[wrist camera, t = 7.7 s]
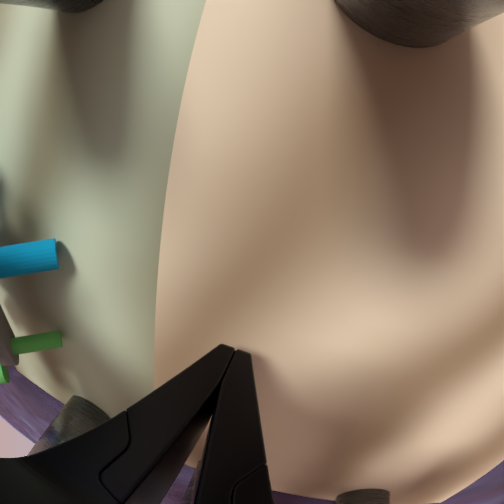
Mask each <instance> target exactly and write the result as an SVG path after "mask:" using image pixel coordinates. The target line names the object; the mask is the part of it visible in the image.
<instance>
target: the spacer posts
mask: <svg viewBox="0 0 504 504" xmlns="http://www.w3.org/2000/svg"><path fill="white" fill-rule="evenodd" d="M102 1H103V0H0V4H11V5H21V6H29V7H36V8H43V9H49V10H55V11H61V12H66V13H73V14H74V13H80V12H84V11H86V10H89V9H91V8H93V7H95V6H96V5H98V4H99V3H101V2H102ZM334 1H335V2H336V4H337V5H338V6H339V8H340V9H341V10H342V11H343V12H344V14H345V15H346V16H347V17H348V18H350V19H351V20H352V21H353V22H354V23H355V24H357V25H358V26H359V27H360V28H362V29H364V30H365V31H367V32H368V33H370V34H372V35H374V36H375V37H377V38H380V39H382V40H384V41H387V42H390V43H393V44H396V45H400V46H405V47H412V48H427V47H433V46H437V45H440V44H442V43H444V42H446V41H448V40H450V39H452V38H454V37H456V36H458V35H460V34H461V33H463V32H465V31H467V30H469V29H471V28H473V27H475V26H477V25H479V24H481V23H483V22H485V21H487V20H489V19H491V18H493V17H496V16H498V15H500V14H502V13H504V0H334ZM109 419H111V418H110V417H109V416H108V415H107V414H106V413H105V412H104V411H103V410H102V409H100V408H99V407H98V406H96V405H95V404H93V403H92V402H90V401H89V400H87V399H85V398H83V397H80V396H76V395H73V396H72V397H71V398H70V399H69V400H68V402H67V403H66V404H65V406H64V407H63V408H62V409H61V411H60V412H59V413H58V415H57V416H56V417H55V419H54V420H53V421H52V423H51V424H50V425H49V427H48V428H47V429H46V431H45V432H44V433H43V435H42V436H41V437H40V439H39V440H38V441H37V443H36V444H35V445H34V447H33V448H32V450H31V451H30V452H29V454H28V455H27V456H29V455H32V454H35V453H38V452H41V451H43V450H46V449H48V448H51V447H53V446H56V445H58V444H60V443H63V442H65V441H68V440H70V439H72V438H75V437H77V436H79V435H81V434H83V433H85V432H87V431H89V430H92V429H94V428H96V427H97V426H99V425H101V424H103V423H104V422H106V421H108V420H109ZM200 461H201V460H199V461H198V463H197V466H196V468H195V471H194V473H193V475H192V478H191V480H190V483H189V485H188V488H187V490H186V492H185V495H184V497H183V500H182V502H181V504H190V503H191V498H192V494H193V490H194V486H195V482H196V478H197V474H198V470H199V465H200ZM335 504H390V492H389V491H387V490H384V489H374V488H370V489H358V490H352V491H348V492H344V493H342V494H339V495H338V496H337V497H336V498H335Z"/></svg>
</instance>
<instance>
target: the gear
mask: <svg viewBox="0 0 504 504" xmlns="http://www.w3.org/2000/svg"><path fill="white" fill-rule="evenodd" d="M57 269H59V261H58V252H57V245H56V240H55V238H53V239H46V240H40V241H33V242H27V243H20V244H14V245H8V246H2V247H0V279H1V278H7V277H13V276H20V275H26V274H32V273H38V272H45V271H51V270H57ZM61 347H63V343H62V338H61V334H60V331H59V330H58V331H52V332H46V333H40V334H34V335H27V336H21V337H15V335H14V333H13V331H12V329H11V327H10V325H9V322H8V320H7V318H6V316H5V314H4V311H3V309H2V307H1V305H0V384H4V383H9V372H8V368H7V367H9V366H16V365H18V364H19V354H25V353H31V352H37V351H43V350H49V349H55V348H61Z"/></svg>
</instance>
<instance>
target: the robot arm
mask: <svg viewBox="0 0 504 504" xmlns="http://www.w3.org/2000/svg"><path fill="white" fill-rule="evenodd" d="M211 416H212V417H211ZM210 419H211V421H210ZM209 421H210V425H209V428H208V432H207V437H206V441H205V445H204V449H203V453H202V457H201V461H200V465H199V470H198V474H197V478H196V482H195V486H194V490H193V494H192V498H191V503H190V504H275V501H274V498H273V493H272V488H271V483H270V478H269V471H268V465H266V463H267V459H266V452H265V446H264V439H263V432H262V425H261V418H260V412H259V405H258V398H257V391H256V383H255V376H254V369H253V362H252V356H251V354H250V353H249V352H246V351H243V350H240V349H237V350H236V351H235V348H234V347H231V346H228V345H225V344H219V345H218V346H216V347H215V348H214V349H212V350H211V351H210V352H208V353H207V354H205V355H204V356H203V357H201V358H200V359H198V360H197V361H196V362H194V363H193V364H191V365H190V366H189V367H187V368H186V369H184V370H183V371H181V372H180V373H179V374H177V375H176V376H174V377H173V378H171V379H170V380H168V381H167V382H166V383H164V384H163V385H161V386H160V387H158V388H157V389H155V390H154V391H152V392H151V393H149V394H148V395H146V396H145V397H143V398H142V399H140V400H139V401H137V402H136V403H134V404H133V405H131V406H130V407H128V408H127V409H126V411H125V410H124V411H122V412H120V413H119V414H117V415H116V416H114V417H113V418H111V419H109V420H108V421H106V422H104V423H103V424H101V425H99V426H97V427H96V428H94V429H92V430H89V431H87V432H85V433H83V434H81V435H79V436H77V437H75V438H72V439H70V440H68V441H65V442H63V443H60V444H58V445H56V446H53V447H51V448H48V449H46V450H43V451H41V452H38V453H35V454H32V455H29V456H25V457H19V458H0V504H160V503H161V502H162V500H163V498H164V497H165V495H166V494H167V492H168V490H169V489H170V487H171V485H172V484H173V482H174V481H175V479H176V477H177V476H178V474H179V472H180V471H181V469H182V467H183V466H184V464H185V462H186V461H187V459H188V457H189V456H190V454H191V452H192V451H193V449H194V447H195V445H196V444H197V442H198V440H199V439H200V437H201V435H202V433H203V432H204V430H205V428H206V426H207V425H208V423H209Z"/></svg>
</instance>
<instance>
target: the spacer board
mask: <svg viewBox="0 0 504 504" xmlns="http://www.w3.org/2000/svg"><path fill="white" fill-rule="evenodd" d="M53 238H55V240H56V245H57V252H58V261H59V269H57V270H51V271H45V272H38V273H32V274H26V275H20V276H13V277H7V278H1V279H0V305H1V307H2V309H3V311H4V314H5V316H6V318H7V320H8V322H9V325H10V327H11V329H12V331H13V333H14V335H15V337H21V336H27V335H34V334H40V333H46V332H52V331H58V330H59V331H60V334H61V338H62V343H63V347H61V348H55V349H49V350H43V351H37V352H31V353H25V354H19V364H18V365H16V366H15V367H16V369H17V370H18V371H19V372H20V373H21V374H23V375H24V376H25V377H27V378H28V379H29V380H31V381H32V382H33V383H35V384H36V385H37V386H39V387H40V388H42V389H43V390H45V391H46V392H47V393H49V394H50V395H52V396H53V397H55V398H56V399H58V400H59V401H61V402H62V403H64V404H66V403H67V402H68V400H69V399H70V398H71V397H72V396H73V395H76V396H80V397H83V398H85V399H87V400H89V401H90V402H92V403H93V404H95V405H96V406H98V407H99V408H100V409H102V410H103V411H104V412H105V413H106V414H107V415H108V416H109V417H110V418H113V417H114V416H116V415H117V414H119V413H120V412H122V411H124V410H125V411H126V409H127V408H128V407H130V406H131V405H133V404H134V403H136V402H137V401H139V400H140V399H142V398H143V397H145V396H146V395H148V394H149V393H151V392H152V391H154V390H155V389H157V388H158V387H160V386H161V385H163V384H164V383H166V382H167V381H168V380H170V379H171V378H173V377H174V376H176V375H177V374H179V373H180V372H181V371H183V370H184V369H186V368H187V367H189V366H190V365H191V364H193V363H194V362H196V361H197V360H198V359H200V358H201V357H203V356H204V355H205V354H207V353H208V352H210V351H211V350H212V349H214V348H215V347H216V346H218V345H219V344H225V345H228V346H231V347H234V348H235V351H236V350H237V349H240V350H243V351H246V352H249V353H250V354H251V356H252V362H253V369H254V376H255V383H256V391H257V398H258V405H259V412H260V418H261V425H262V432H263V439H264V446H265V452H266V459H267V463H266V465H268V471H269V478H270V483H271V488H272V490H274V491H279V492H284V493H289V494H294V495H300V496H306V497H312V498H319V499H326V500H335V498H336V497H337V496H338V495H339V494H342V493H344V492H348V491H352V490H358V489H370V488H374V489H384V490H387V491H389V492H390V504H424V503H440V502H442V501H444V500H446V499H448V498H449V497H451V496H453V495H454V494H456V493H458V492H459V491H461V490H462V489H464V488H465V487H467V486H468V485H470V484H472V483H473V482H474V481H476V480H477V479H479V478H480V477H482V476H483V475H485V474H486V473H487V472H489V471H490V470H491V469H493V468H494V467H495V466H497V465H498V464H499V463H501V462H502V461H503V460H504V13H502V14H500V15H498V16H496V17H493V18H491V19H489V20H487V21H485V22H483V23H481V24H479V25H477V26H475V27H473V28H471V29H469V30H467V31H465V32H463V33H461V34H460V35H458V36H456V37H454V38H452V39H450V40H448V41H446V42H444V43H442V44H440V45H437V46H433V47H427V48H412V47H405V46H400V45H396V44H393V43H390V42H387V41H384V40H382V39H380V38H377V37H375V36H374V35H372V34H370V33H368V32H367V31H365V30H364V29H362V28H360V27H359V26H358V25H357V24H355V23H354V22H353V21H352V20H351V19H350V18H348V17H347V16H346V15H345V14H344V12H343V11H342V10H341V9H340V8H339V6H338V5H337V4H336V2H335V1H334V0H103V1H102V2H101V3H99V4H98V5H96V6H95V7H93V8H91V9H89V10H86V11H84V12H80V13H74V14H73V13H66V12H61V11H55V10H49V9H43V8H36V7H29V6H21V5H11V4H0V247H2V246H8V245H14V244H20V243H27V242H33V241H40V240H46V239H53ZM211 417H212V416H211ZM210 421H211V419H210ZM210 421H209V423H208V425H207V426H206V428H205V430H204V432H203V433H202V435H201V437H200V439H199V440H198V442H197V444H196V445H195V447H194V449H193V451H192V452H191V454H190V456H189V457H188V459H187V461H186V462H185V464H186V465H188V466H191V467H194V468H196V466H197V463H198V461H199V460H201V457H202V453H203V449H204V445H205V441H206V437H207V432H208V428H209V425H210Z"/></svg>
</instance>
